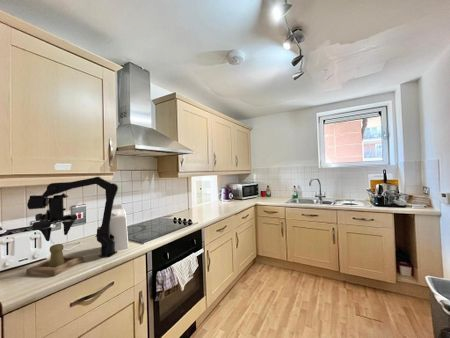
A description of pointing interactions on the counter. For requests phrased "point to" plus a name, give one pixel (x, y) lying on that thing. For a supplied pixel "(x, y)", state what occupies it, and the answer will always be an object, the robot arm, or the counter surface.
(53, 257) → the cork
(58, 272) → the socket block
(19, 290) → the counter surface
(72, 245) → the counter surface
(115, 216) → the milk
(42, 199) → the robot arm
